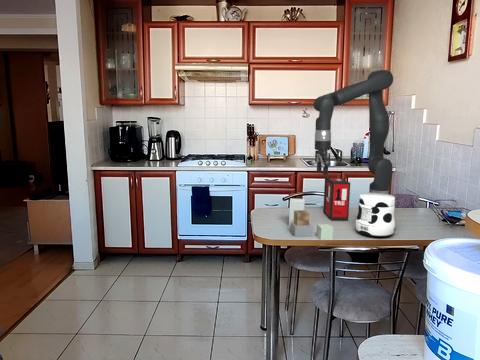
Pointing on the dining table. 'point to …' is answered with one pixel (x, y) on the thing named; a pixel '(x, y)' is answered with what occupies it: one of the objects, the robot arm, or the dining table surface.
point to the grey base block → (301, 230)
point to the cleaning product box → (336, 199)
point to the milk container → (376, 214)
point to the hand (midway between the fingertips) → (322, 173)
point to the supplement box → (295, 208)
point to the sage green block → (324, 232)
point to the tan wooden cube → (301, 217)
